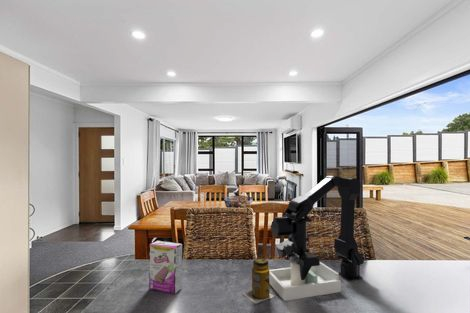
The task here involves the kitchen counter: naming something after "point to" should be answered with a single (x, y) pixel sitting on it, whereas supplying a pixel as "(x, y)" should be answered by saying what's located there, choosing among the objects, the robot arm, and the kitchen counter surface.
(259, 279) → the condiment
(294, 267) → the jar
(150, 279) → the candy bar box
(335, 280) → the white tray
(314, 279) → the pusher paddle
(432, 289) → the kitchen counter surface
